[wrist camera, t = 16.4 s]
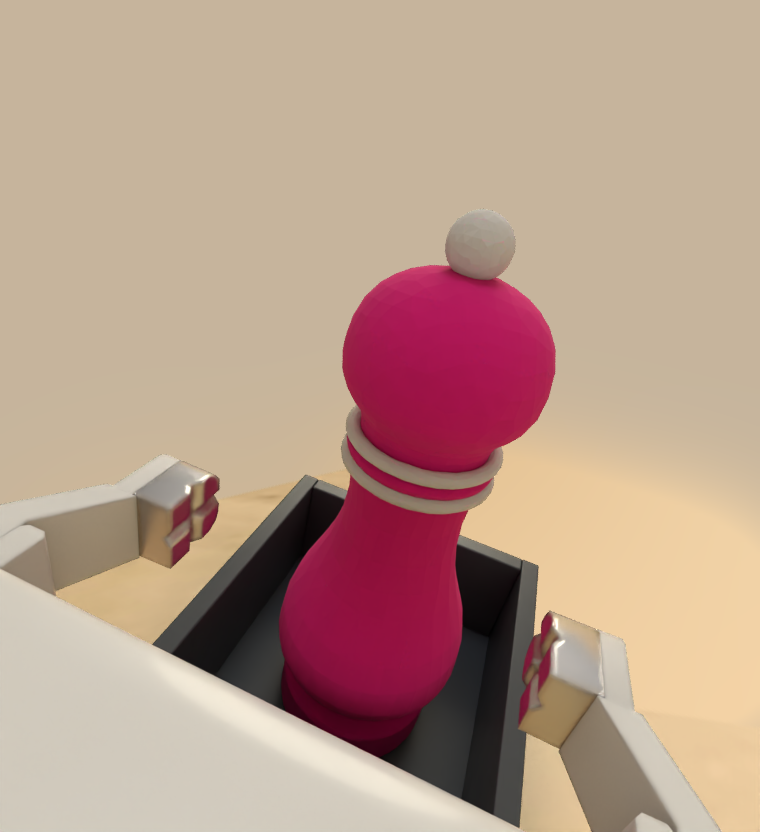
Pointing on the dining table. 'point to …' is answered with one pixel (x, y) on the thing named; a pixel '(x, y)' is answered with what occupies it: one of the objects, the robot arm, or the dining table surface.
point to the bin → (438, 721)
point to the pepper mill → (412, 485)
